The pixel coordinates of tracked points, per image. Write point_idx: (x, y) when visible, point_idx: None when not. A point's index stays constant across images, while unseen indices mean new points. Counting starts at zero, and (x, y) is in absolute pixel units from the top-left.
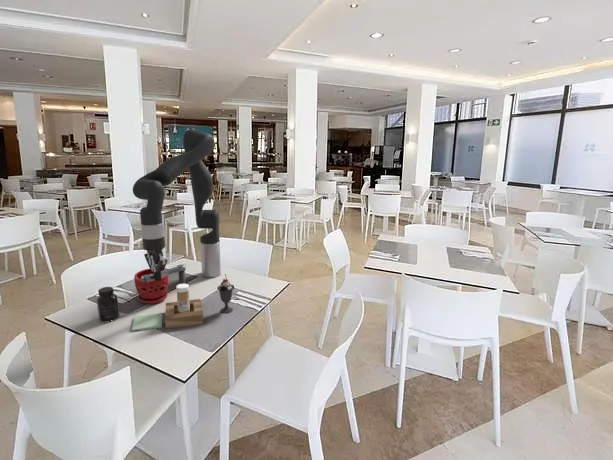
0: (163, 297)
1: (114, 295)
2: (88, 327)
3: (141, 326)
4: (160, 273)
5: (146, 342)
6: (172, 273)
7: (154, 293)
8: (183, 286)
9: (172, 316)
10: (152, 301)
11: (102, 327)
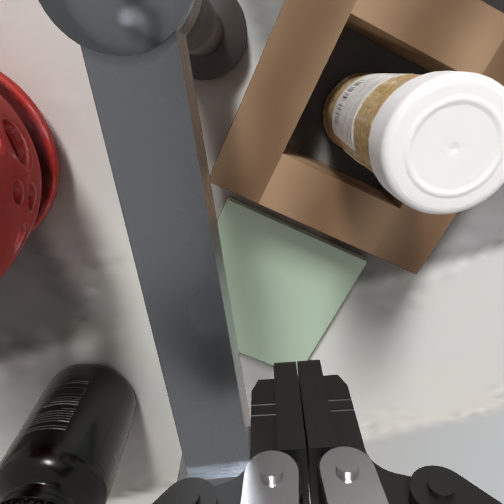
0: (33, 117)
1: (62, 476)
2: (134, 470)
3: (301, 335)
4: (361, 438)
5: (435, 355)
6: (208, 175)
7: (38, 202)
8: (482, 149)
9: (422, 229)
10: (53, 198)
11: (170, 436)
